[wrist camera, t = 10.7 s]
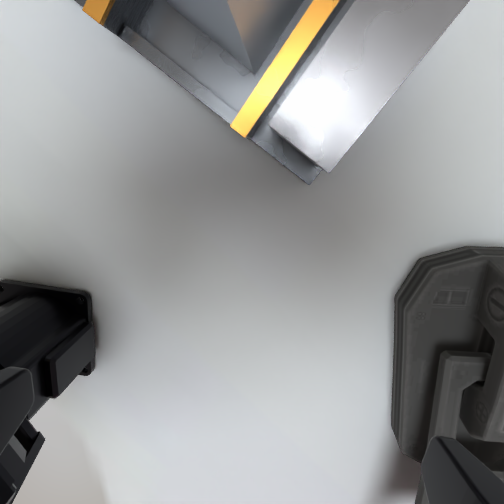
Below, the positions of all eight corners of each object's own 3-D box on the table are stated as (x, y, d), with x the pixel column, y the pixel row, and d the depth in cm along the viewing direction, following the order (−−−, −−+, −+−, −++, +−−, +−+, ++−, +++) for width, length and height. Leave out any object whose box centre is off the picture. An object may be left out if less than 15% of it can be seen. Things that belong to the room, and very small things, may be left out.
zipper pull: (379, 652, 20) (463, 291, 13) (356, 533, 27) (402, 243, 19) (530, 672, 20) (719, 302, 12) (470, 544, 26) (568, 248, 18)
